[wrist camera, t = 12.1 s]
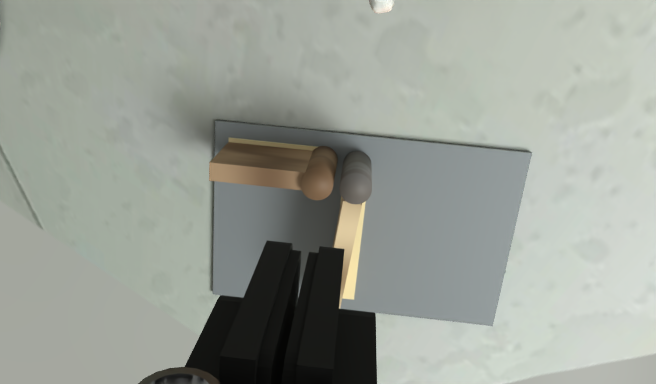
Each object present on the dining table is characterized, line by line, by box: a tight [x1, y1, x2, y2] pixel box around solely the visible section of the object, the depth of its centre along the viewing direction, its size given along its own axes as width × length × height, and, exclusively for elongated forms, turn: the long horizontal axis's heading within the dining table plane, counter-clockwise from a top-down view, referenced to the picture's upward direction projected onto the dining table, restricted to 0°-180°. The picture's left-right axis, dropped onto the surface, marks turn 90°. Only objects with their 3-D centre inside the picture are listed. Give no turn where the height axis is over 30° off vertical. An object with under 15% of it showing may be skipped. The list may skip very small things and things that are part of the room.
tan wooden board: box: [332, 151, 372, 308], centre depth 38 cm, size 12×2×5 cm, turn 170°
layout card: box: [213, 120, 532, 326], centre depth 40 cm, size 22×14×1 cm, turn 85°
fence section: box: [209, 142, 338, 200], centre depth 36 cm, size 8×2×5 cm, turn 85°
